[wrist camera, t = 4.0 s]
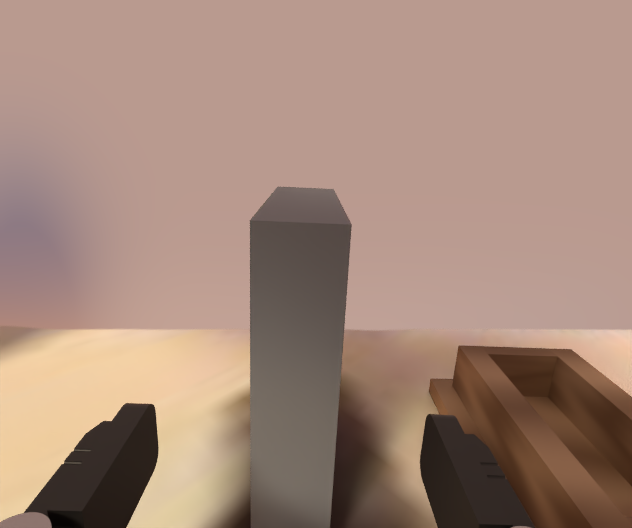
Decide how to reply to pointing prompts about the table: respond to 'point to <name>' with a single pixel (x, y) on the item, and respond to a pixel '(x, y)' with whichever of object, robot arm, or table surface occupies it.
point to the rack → (547, 431)
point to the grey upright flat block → (296, 354)
